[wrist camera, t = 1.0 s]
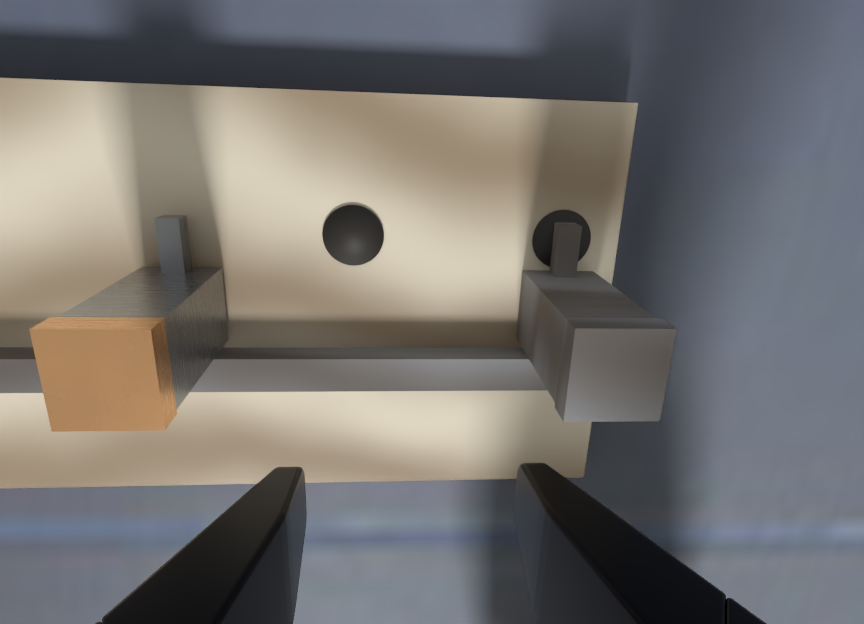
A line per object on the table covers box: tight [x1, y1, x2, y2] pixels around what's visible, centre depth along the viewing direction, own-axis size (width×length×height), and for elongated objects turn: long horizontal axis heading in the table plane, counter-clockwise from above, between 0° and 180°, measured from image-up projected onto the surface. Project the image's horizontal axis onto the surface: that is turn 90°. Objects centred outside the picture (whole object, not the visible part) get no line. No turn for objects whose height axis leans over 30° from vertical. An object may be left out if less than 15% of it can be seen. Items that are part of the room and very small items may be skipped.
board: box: [0, 78, 677, 488], centre depth 16 cm, size 14×25×7 cm, turn 88°
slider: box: [29, 215, 229, 432], centre depth 15 cm, size 4×3×6 cm, turn 178°
